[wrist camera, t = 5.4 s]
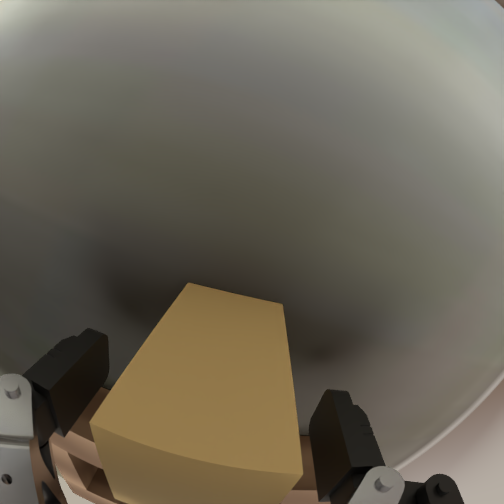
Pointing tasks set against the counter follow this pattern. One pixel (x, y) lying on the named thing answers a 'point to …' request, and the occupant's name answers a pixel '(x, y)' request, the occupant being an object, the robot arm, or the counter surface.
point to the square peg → (204, 407)
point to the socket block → (94, 479)
